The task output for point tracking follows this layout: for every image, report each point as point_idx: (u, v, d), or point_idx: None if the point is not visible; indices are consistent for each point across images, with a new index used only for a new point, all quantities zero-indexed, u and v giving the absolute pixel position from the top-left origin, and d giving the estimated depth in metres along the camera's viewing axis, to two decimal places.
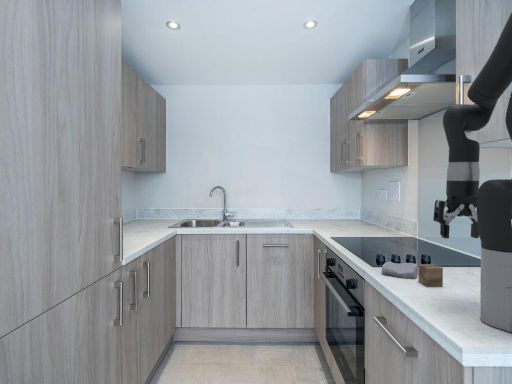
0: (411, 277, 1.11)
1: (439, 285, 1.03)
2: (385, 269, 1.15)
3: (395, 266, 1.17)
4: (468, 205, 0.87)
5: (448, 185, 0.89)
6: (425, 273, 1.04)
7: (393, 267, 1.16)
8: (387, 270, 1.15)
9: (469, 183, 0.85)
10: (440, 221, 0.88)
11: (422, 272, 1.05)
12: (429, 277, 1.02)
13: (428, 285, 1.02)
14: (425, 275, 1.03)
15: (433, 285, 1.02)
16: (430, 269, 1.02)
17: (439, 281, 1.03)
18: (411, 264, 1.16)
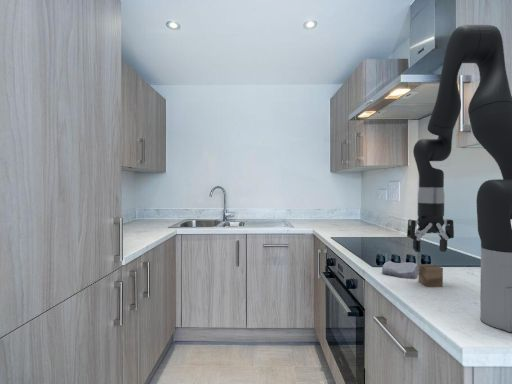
0: (411, 277, 1.12)
1: (439, 285, 1.03)
2: (386, 268, 1.16)
3: (395, 266, 1.17)
4: (435, 224, 1.03)
5: (419, 206, 1.05)
6: (425, 273, 1.04)
7: (393, 267, 1.17)
8: (388, 270, 1.16)
9: (435, 205, 1.01)
10: (412, 237, 1.03)
11: (422, 272, 1.05)
12: (429, 277, 1.02)
13: (428, 285, 1.02)
14: (425, 275, 1.03)
15: (433, 285, 1.02)
16: (430, 269, 1.02)
17: (439, 281, 1.03)
18: (411, 264, 1.16)
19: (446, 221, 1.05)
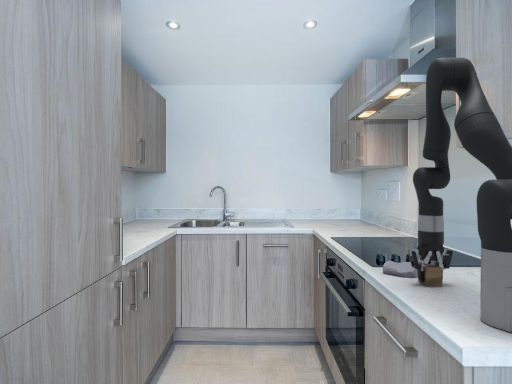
0: (412, 276, 1.13)
1: (439, 285, 1.03)
2: (386, 268, 1.17)
3: (396, 265, 1.18)
4: (436, 251, 1.03)
5: (418, 234, 1.05)
6: None
7: (394, 266, 1.17)
8: (388, 270, 1.16)
9: (435, 234, 1.01)
10: (417, 268, 1.03)
11: None
12: (429, 277, 1.02)
13: (428, 285, 1.02)
14: (425, 275, 1.04)
15: (433, 285, 1.03)
16: (430, 269, 1.02)
17: (439, 281, 1.03)
18: None
19: (446, 251, 1.05)
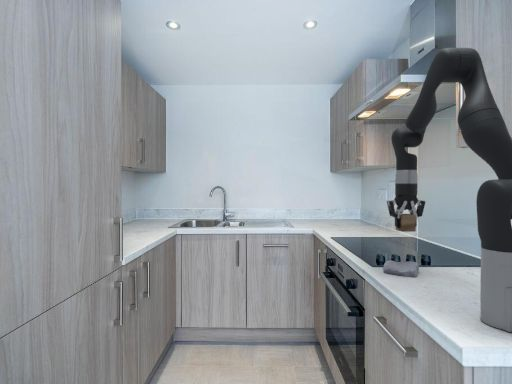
0: (412, 275, 1.14)
1: (412, 230, 1.19)
2: (387, 267, 1.18)
3: (396, 264, 1.19)
4: (410, 201, 1.19)
5: (396, 187, 1.21)
6: None
7: (394, 265, 1.18)
8: (389, 269, 1.17)
9: (409, 185, 1.17)
10: (393, 215, 1.19)
11: None
12: (404, 223, 1.18)
13: (403, 230, 1.18)
14: None
15: (407, 230, 1.18)
16: (405, 216, 1.18)
17: (412, 227, 1.19)
18: (412, 262, 1.18)
19: (419, 201, 1.20)
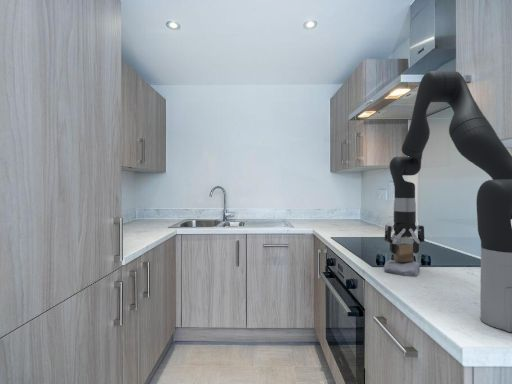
0: (413, 275, 1.15)
1: (411, 259, 1.19)
2: (387, 267, 1.19)
3: (397, 264, 1.20)
4: (408, 229, 1.20)
5: (394, 214, 1.22)
6: (397, 250, 1.21)
7: (395, 265, 1.19)
8: (389, 268, 1.18)
9: (407, 213, 1.18)
10: (388, 241, 1.20)
11: (396, 250, 1.22)
12: (402, 253, 1.19)
13: (401, 260, 1.19)
14: (398, 252, 1.20)
15: (405, 260, 1.19)
16: (401, 246, 1.20)
17: (410, 256, 1.20)
18: (412, 262, 1.19)
19: (418, 227, 1.22)
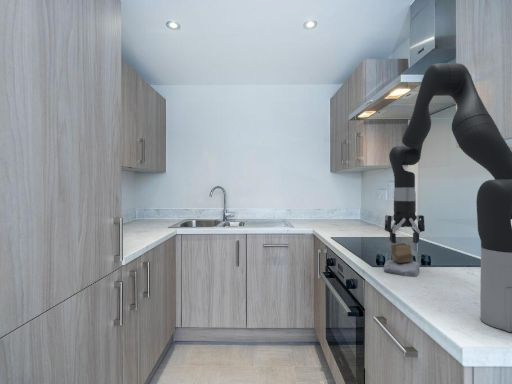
0: (412, 275, 1.14)
1: (409, 260, 1.19)
2: (387, 267, 1.19)
3: (397, 264, 1.20)
4: (408, 219, 1.20)
5: (394, 204, 1.22)
6: (395, 251, 1.20)
7: (395, 265, 1.19)
8: (389, 268, 1.18)
9: (407, 202, 1.18)
10: (388, 230, 1.20)
11: (394, 250, 1.21)
12: (399, 254, 1.19)
13: (399, 261, 1.19)
14: (396, 253, 1.20)
15: (403, 261, 1.19)
16: (399, 247, 1.19)
17: (408, 257, 1.19)
18: (412, 262, 1.19)
19: (418, 217, 1.21)
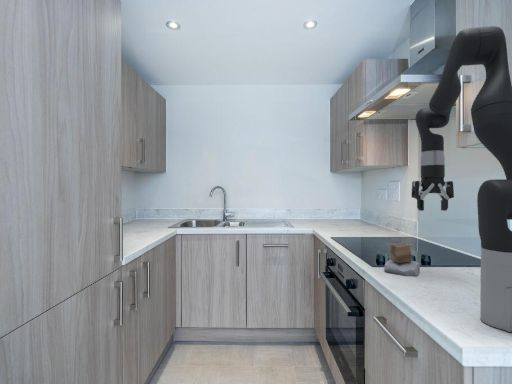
0: (413, 275, 1.15)
1: (408, 260, 1.19)
2: (388, 267, 1.19)
3: (397, 264, 1.20)
4: (437, 184, 1.13)
5: (421, 169, 1.15)
6: (395, 251, 1.20)
7: (395, 265, 1.19)
8: (390, 268, 1.18)
9: (437, 166, 1.11)
10: (416, 196, 1.13)
11: (393, 250, 1.21)
12: (399, 254, 1.19)
13: (399, 261, 1.19)
14: (396, 253, 1.20)
15: (403, 261, 1.19)
16: (399, 247, 1.19)
17: (408, 257, 1.19)
18: (413, 262, 1.19)
19: (446, 182, 1.15)
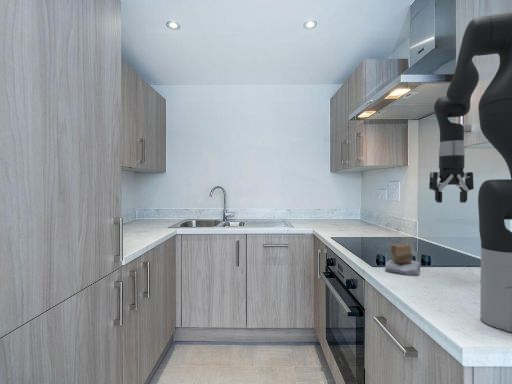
0: (414, 274, 1.15)
1: (408, 260, 1.19)
2: (389, 266, 1.19)
3: (398, 264, 1.20)
4: (456, 175, 1.10)
5: (440, 160, 1.11)
6: (395, 251, 1.20)
7: (396, 265, 1.20)
8: (391, 268, 1.19)
9: (456, 157, 1.07)
10: (434, 188, 1.10)
11: (393, 251, 1.21)
12: (400, 254, 1.19)
13: (399, 261, 1.19)
14: (396, 253, 1.20)
15: (403, 261, 1.19)
16: (400, 247, 1.19)
17: (408, 257, 1.19)
18: (413, 262, 1.20)
19: (466, 173, 1.11)
